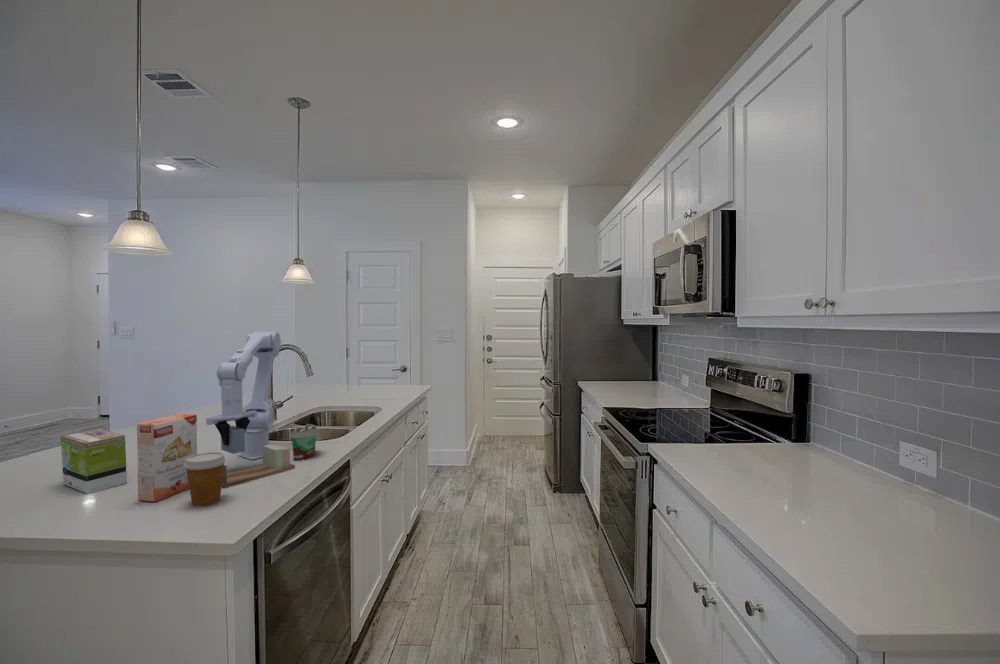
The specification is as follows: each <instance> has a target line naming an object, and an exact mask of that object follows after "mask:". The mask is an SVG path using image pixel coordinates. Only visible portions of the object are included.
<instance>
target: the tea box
mask: <svg viewBox="0 0 1000 664" xmlns="http://www.w3.org/2000/svg"><path fill="white" fill-rule="evenodd" d="M60 447H61V448H60V449H61V467H62V481H63V482H62V483H63V485H64V486H68V487H70V488H73V489H75V490H77V491H79V492H81V493H84V492H85V493H84V494H86V493H87V495H88V493H89V494H92V492H93V493H97V492H100V491H99V490H101V491H104V490H107V488H108V489H111V488H114V486H115V487H118V486H121V484H122V485H124V484H127V482H128V480H127V479H128V473H127V472H128V471H127V458H126V457H127V454H126V453H127V452H126V435H125V434H121V433H118V432H114V431H109V430H105V429H102V428H98V429H94V430H86V431H82V432H76V433H72V434H71V433H70V434H67V435H61V436H60ZM103 489H104V490H103ZM96 491H97V492H96Z"/></svg>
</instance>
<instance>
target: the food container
mask: <svg viewBox="0 0 1000 664" xmlns="http://www.w3.org/2000/svg"><path fill="white" fill-rule="evenodd" d="M318 433H319V431H318V427H317V425H315V424H311V423H306V424H305V427H303V428H300V429H298V430H297V431H291V435H290V439H291V440H292V441H291V443H292V454H293V458H292V459H293V461H303V459H304V460H308V458H309V459H312V458H314V457H315V456H316V440H317V439H316V438H317V434H318ZM314 455H315V456H314ZM313 456H314V457H313ZM311 457H312V458H311Z"/></svg>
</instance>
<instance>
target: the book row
mask: <svg viewBox="0 0 1000 664" xmlns="http://www.w3.org/2000/svg"><path fill="white" fill-rule="evenodd" d="M262 464H263V465H266V466H269V467H272V468H275V469H279V468H282V467H286V466H290V464H291V448H289V447H286V446H282V445H278V444H273V445H272V444H269V445H265V446H263V457H262Z"/></svg>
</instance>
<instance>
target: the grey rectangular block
mask: <svg viewBox="0 0 1000 664" xmlns="http://www.w3.org/2000/svg"><path fill="white" fill-rule="evenodd" d="M220 446H221V448H220V450H221V451H224V452H227V453H230V454H232V455H235V454H238V453H239V454H241V452H244V451H245V433H244V429H242V428H239V427H236V425H230V429H229V445H227V446H226V445H223V440H222V437H221V436H220Z"/></svg>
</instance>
